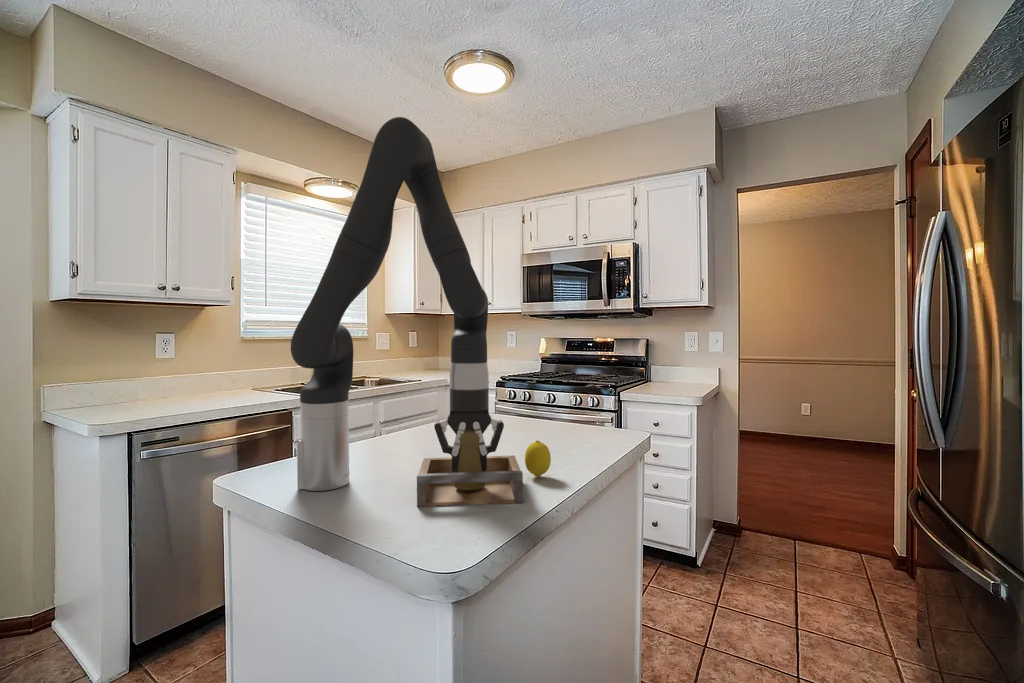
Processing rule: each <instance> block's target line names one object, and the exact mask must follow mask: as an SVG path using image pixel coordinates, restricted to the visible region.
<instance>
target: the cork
mask: <svg viewBox="0 0 1024 683" xmlns="http://www.w3.org/2000/svg"><path fill="white" fill-rule="evenodd" d="M460 434H461V433H460ZM478 434H479V433H478ZM478 434H477V433H475V431H473V430H467V431H464V433H462V435H461V436H460V438H458V439H460V448H459V452H458V456H459V465H458V472H457V473H463V472H482V468H481V462H480V456H481V453H480V448H479V441H480V438H479V435H478ZM482 435H483V436H484V433H483V434H482ZM456 436H457V435H456V434H455V437H456ZM483 472H484V471H483ZM454 486H455V488H457V489H461V490H476V489H480V488H483V487H484V486H485V482H462V483H454Z"/></svg>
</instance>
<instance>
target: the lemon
mask: <svg viewBox="0 0 1024 683" xmlns="http://www.w3.org/2000/svg"><path fill="white" fill-rule="evenodd" d="M524 453H525V454H524V463H525V466H526V469H527V471H528V472H529V473H530V474H532V475H533V476H535V478H540V477H541V476H542V475H544V474H546V473H547V472H548V470H549V469H550V466H551V462H552V461H551V460H552V459H551V452H550V449H549V447H548V446H547V445H546V444H545V443H543V442H541V441H540V440H539V439H538V440H535V441H534V442H531V443H530V444H529V445H528V446H527V448H526V450H525V452H524Z"/></svg>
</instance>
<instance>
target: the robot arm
mask: <svg viewBox="0 0 1024 683" xmlns="http://www.w3.org/2000/svg"><path fill="white" fill-rule="evenodd" d="M370 150H371V151H370V153H369V157H368V160H367V163H366V166H365V171H364V174H363V177H362V179H361V180H362V181H361V183H360V186H359V189H358V190H357V193H356V195H355V197H354V200H353V201H352V205H351V207H350V210H349V213H348V215H347V217H346V220H345V222H344V224H343V226H342V228H341V230H340V233H339V234H338V238H337V240H336V242H335V245H334V247H333V249H332V253H331V255H330V259H329V261H328V263H327V265H326V268H325V269H324V272H323V274H322V276H321V278H320V281H319V283H318V285H317V288H316V291H315V293H314V294H313V296H312V299H311V300H310V302H309V303H308V306H307V308H306V310H305V311H304V313H303V315H302V317H301V318H300V320H299V321H298V324H297V325H296V328H295V329H294V332H293V334H292V337H291V341H290V352H291V357H292V359H293V361H294V363H295V364H296V365H298V366H299V367H301V368H304V369H308V370H309V369H310V370H311V369H312V370H313V373H312V376H311V378H310V380H309V381H308V382H307V383H306V384H305V385H303V386H302V387H301V389H300V392H299V405H300V407H299V410H300V421H299V422H300V439H299V440H298V441H296V455H297V456H296V459H297V460H296V461H297V462H296V464H297V466H296V468H297V490H306V491H311V492H321V491H331V490H335V489H339V488H342V487H344V486H347V485H348V484H350V433H349V432H350V426H349V424H350V421H349V420H350V419H349V416H350V415H349V393H350V390H351V387H352V385H353V377H354V374H353V373H354V372H353V371H354V343H353V342H354V341H353V338H352V335H351V333H350V331H349V329H348V328H347V327H345V326H344V325H342V324H341V322H342V319H343V317H344V314H345V313H346V311H347V310H348V308H349V306H350V305H351V304H352V303H353V302H354V300H355V299H356V298H358V296H360V295H361V293H362V292H363V291H364V290H365V289H366V288H367V287H368V286H369V285H370V284H371V282H372V281H373V280H374V279H375V277H376V276H377V274H378V272H379V270H380V268H381V266H382V264H383V261H384V260H385V257H386V255H387V252H388V250H389V247H390V243H391V238H392V232H393V218H394V212H395V203H396V200H397V197H398V194H399V192H400V189H401V188H402V185H403V183H405V185H406V187H407V188H408V190H409V192H410V194H411V195H412V199H413V201H414V203H415V206H416V209H417V214H418V218H419V223H420V224H419V225H420V229H421V233H422V237H423V239H424V240H423V241H424V243H425V245H426V248H427V251H428V253H429V256H430V258H431V261H432V262H433V265H434V267H435V270H436V271H437V273H438V276H439V279H440V283H441V286H442V288H443V293H444V295H445V299H446V301H447V303H448V306H449V308H450V310H451V311H452V313H453V334H452V336H451V340H450V362H451V363H450V369H449V414H448V417H447V419H445V420H441V421H437V420H436V422H435V423H434V430H435V433H436V436H437V440H438V442H439V446H440V447H441V450H442V453H443V454H449V455H450V456H451V457H452V471H453V472H456V473H457V472H458V465H459V456H458V452H459V448H460V439H458V438H460V436H461V435H462V433H464V431H467V430H473V431H475V433H477V434H478V433H479V434H478V435H479V438H480V441H479V448H480V453H481V456H480V462H481V468H482V472H483V471H486V469H487V456H488V455H489V454H491V453H495V452H496V451H497V448H498V446H499V443H500V441H501V440H500V439H501V437H502V434H503V430H504V428H505V424H504V422H503V420H497V419H494V418H492V417H491V415H490V413H489V412H490V411H489V406H490V404H489V401H490V400H489V398H490V396H489V395H490V394H489V392H490V391H489V384H490V380H489V375H490V374H489V369H488V342H487V330H488V316H489V314H488V313H489V299H488V296H487V293H486V291H485V290H484V288H483V287H482V285H481V282H480V281H479V278H478V277H477V274H476V271H475V270H474V268H473V266H472V261H471V256H470V254H469V250H468V248H467V246H466V243H465V241H464V239H463V235H462V233H461V231H460V229H459V226H458V224H457V222H456V220H455V218H454V214H453V213H452V210H451V208H450V205H449V204H448V200H447V198H446V194H445V192H444V189H443V186H442V182H441V179H440V174H439V170H438V167H437V163H436V157H435V154H434V149H433V146H432V143H431V140H430V139H429V138H428V137H427V135H426V134H425V133H424V132H423V131H422V130H421V129H420V128H419V127H418V126H417V125H416V124H415V123H414V122H413V121H412V120H410V119H408V118H406V117H403V116H396V117H392V118H390V119H388V120H387V121H385V122H383V124H382V125H381V126H380V128H379V129H378V131H377V133H376V135H375V137H374V140H373V143H372V147H371V149H370ZM448 425H449V427H450V428H451V430H452V431H453V433H454V434H455V438H454V442H453V446H451V445H449V442H448V440H447V439H448V438H447V436H446V432H447V428H448V427H447V426H448ZM490 425H491V429H492V431H493V434H492V437H491V440H490V443H489V444H487V445H486V442H485V438H484V433H485V431H486V430H487V429H488V427H489V426H490ZM460 433H461V434H460ZM482 434H483V435H482ZM456 435H457V436H456Z"/></svg>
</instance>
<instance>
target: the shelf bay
mask: <svg viewBox="0 0 1024 683" xmlns="http://www.w3.org/2000/svg"><path fill="white" fill-rule="evenodd" d="M517 460H518V459H517V458H516V456H515V455H492V456H491V455H490V456H489V455H487V469H486V471H484V472H463V473H456V472H453V471H452V456H451V457H449V456H448V457H446V456H445V457H424V458H423V460H422V463H421V466H420V468H419V471H418V473H417V474H416V507H417V508H419V507H418V506H426V507H437V506H436V505H445V506H454V505H453V504H471V505H489V504H488V503H497V504H523V503H524V501H523V500H524V498H523V497H524V494H523V493H524V492H523V488H524V486H523V485H524V482H523V478H524V476H523V475H524V473H523V471H522V470H521V468H520V465H519V463H518V461H517ZM462 482H485V486H484V487H483V488H480V489H476V490H461V489H457V488H455V486H454V483H462ZM433 505H434V506H433Z"/></svg>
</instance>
